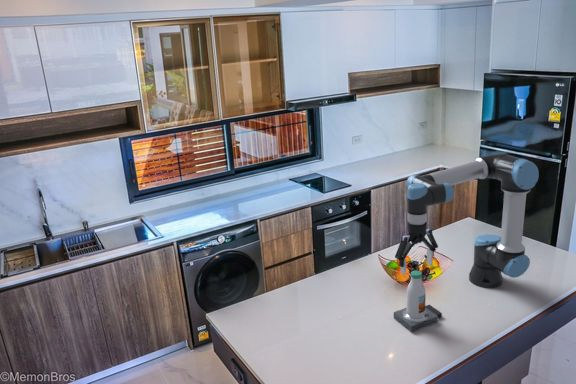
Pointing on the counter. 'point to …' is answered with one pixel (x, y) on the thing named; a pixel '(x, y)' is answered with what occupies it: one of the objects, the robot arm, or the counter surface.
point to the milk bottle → (416, 296)
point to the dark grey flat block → (416, 324)
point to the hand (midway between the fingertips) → (416, 268)
